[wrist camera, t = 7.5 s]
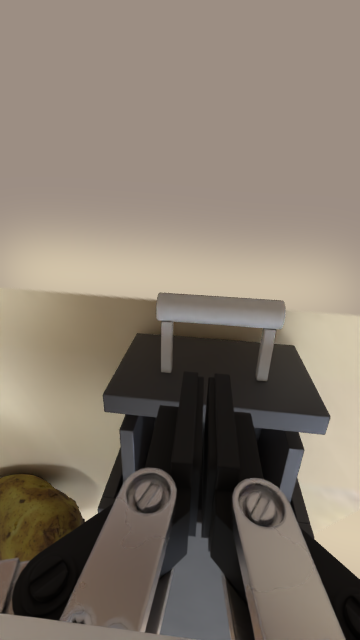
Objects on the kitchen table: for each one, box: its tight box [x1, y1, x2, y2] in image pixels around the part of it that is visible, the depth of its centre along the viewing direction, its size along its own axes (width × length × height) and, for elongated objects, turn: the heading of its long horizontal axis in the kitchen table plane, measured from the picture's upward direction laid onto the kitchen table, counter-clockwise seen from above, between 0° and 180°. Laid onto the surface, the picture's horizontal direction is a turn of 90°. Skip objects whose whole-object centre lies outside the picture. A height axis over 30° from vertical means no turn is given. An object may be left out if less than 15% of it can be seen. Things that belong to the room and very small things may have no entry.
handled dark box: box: [103, 293, 330, 510], centre depth 20 cm, size 18×11×7 cm, turn 178°
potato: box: [0, 474, 85, 562], centre depth 28 cm, size 8×13×8 cm, turn 78°
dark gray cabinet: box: [98, 447, 314, 640], centre depth 24 cm, size 15×13×9 cm
